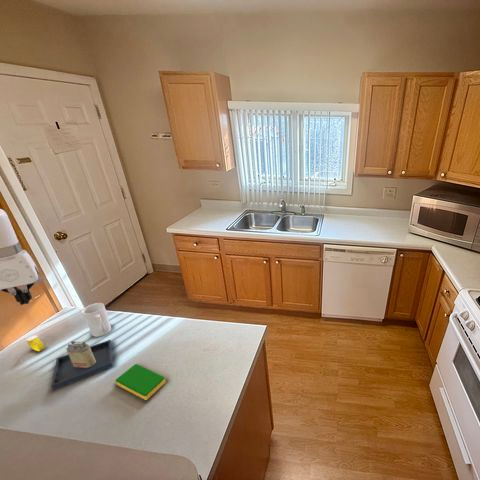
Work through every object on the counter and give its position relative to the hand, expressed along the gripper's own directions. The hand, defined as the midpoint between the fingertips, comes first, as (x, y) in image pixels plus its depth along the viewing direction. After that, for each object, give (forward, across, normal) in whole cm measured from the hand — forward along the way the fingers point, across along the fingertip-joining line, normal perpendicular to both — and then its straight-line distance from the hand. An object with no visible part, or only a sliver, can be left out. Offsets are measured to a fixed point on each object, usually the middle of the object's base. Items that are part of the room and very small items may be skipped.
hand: (25, 301), depth 81 cm
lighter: (+26, +9, -8) cm, 28 cm away
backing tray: (+26, +9, -8) cm, 29 cm away
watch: (+26, -5, +10) cm, 29 cm away
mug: (+26, +14, +7) cm, 30 cm away
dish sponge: (+26, +25, -28) cm, 45 cm away
